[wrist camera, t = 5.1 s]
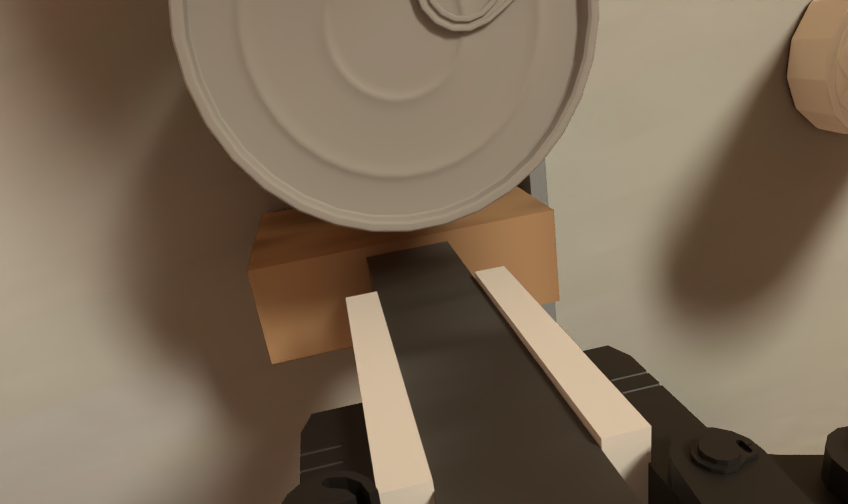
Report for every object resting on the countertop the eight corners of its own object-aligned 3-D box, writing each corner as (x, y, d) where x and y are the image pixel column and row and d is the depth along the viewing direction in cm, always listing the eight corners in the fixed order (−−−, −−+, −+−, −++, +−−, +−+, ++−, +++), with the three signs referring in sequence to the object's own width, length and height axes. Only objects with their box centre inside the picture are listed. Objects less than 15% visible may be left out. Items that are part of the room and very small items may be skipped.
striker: (280, 287, 23) (206, 956, 6) (261, 214, 22) (107, 777, 5) (500, 242, 24) (959, 694, 7) (493, 170, 23) (1012, 504, 6)
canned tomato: (330, 190, 22) (350, 308, 12) (186, 5, 19) (52, -47, 9) (498, 68, 22) (664, 84, 12) (378, -138, 19) (461, -357, 9)
